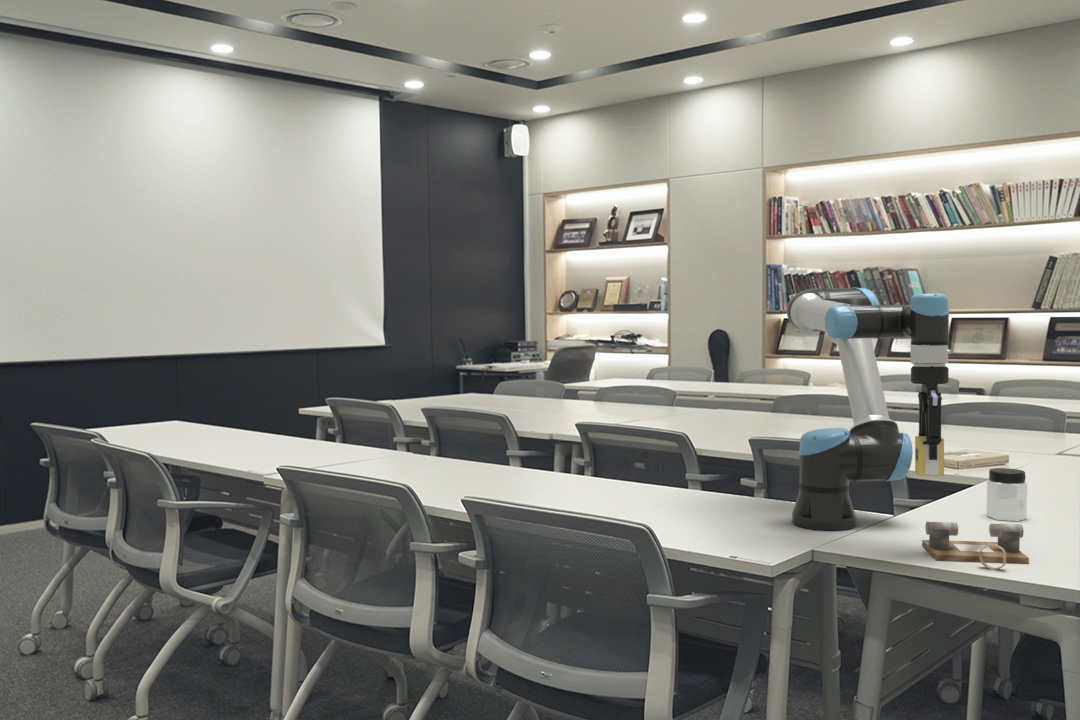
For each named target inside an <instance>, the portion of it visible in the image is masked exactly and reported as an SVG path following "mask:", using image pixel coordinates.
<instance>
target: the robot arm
mask: <svg viewBox="0 0 1080 720" xmlns="http://www.w3.org/2000/svg"><path fill="white" fill-rule="evenodd" d="M786 316H787V319H788V321H789V322H790V324H791V325H792V326H793V327H795V328H796V329H799V330H802V331H806V332H807V331H808V332H824V333H825V332H826V333H827V336H828V337H829V338H830V341H831V342H832V343H833V344H835V345H837V348H838V352H839V353H838V354H839V357H840V362H841V366H842V367H841V368H842V371H843V373H842V374H843V377H844V383H845V387H846V391H847V397H848V402H849V407H850V411H851V416H852V422H853V426H852V427H850V429H849V430H848V429H847V428H844V427H825V428H820V429H813V430H809V431H806V432H805V433H803V434H802V435H801V437H800V439H799V449H798V455H799V490H798V491H799V492H798V495H797V497H796V498H797V499H796V501H795V504H794V506H793V510H792V514H791V522H792V524H794V525H795V526H798V527H801V528H805V529H810V530H811V529H812V530H819V531H821V530H822V531H843V530H850V529H853V528H856V526H857V517H856V516H857V515H856V511H855V510H854V506H853V503H852V501H851V497H850V494H849V490H850V489H849V484H850V482H886V483H887V482H890V481H899V480H902V479H904V478H905V477H906V476H907V474H908V473H909V471H910V469H911V467H912V462H913V443H912V440H911V437H910V436H909V434H908V433H904V432H900V430H899V425H898V423H897V422H896V421H894V420H893V419H891V418H890V416H889V411H888V407H887V403H886V397H885V393H884V389H883V385H882V384H883V383H882V379H881V375H880V371H879V367H878V362H877V358H876V354H875V353H876V352H875V348H874V344H873V343H874V342H873V340H872V339H906V340H908V339H910V364H912V365H913V366H911V368H910V382H911V383H912V384H914V385H916V384H917V385H921V390H920V391H918V394H917V397H918V436H926V441H923V444H925V475H939V443H941V441H942V439H941V437H942V400H943V397H942V394H941V392H939V388H938V386H939V385H945V384H948V383H949V379H950V378H949V376H950V375H949V367H948V366H946V365H947V364H949V355H950V354H952V350H951V349H949V331H950V330H949V329H950V328H949V327H950V326H949V325H950V324H949V321H950V320H949V319H950V318H949V316H950V309H949V298H948V296H947V295H946V294H944V293H916V294H913V295H912V296H911V298H910V304H885V305H884V304H883V305H882V304H881V305H880V302H879V300H878V298H877V296H876V294H875V293H874V292H873V291H872V290H871V289H868V288H864V287H855V286H852V287H842V288H841V287H830V288H828V287H823V288H819V287H817V288H816V287H815V288H809V289H805V290H802V291H800V292H797V293H796V294H795V295H794V296H792V297H791V299H790V300H789V301H788V303H787V306H786Z"/></svg>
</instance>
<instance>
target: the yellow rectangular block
mask: <svg viewBox="0 0 1080 720" xmlns="http://www.w3.org/2000/svg"><path fill="white" fill-rule="evenodd" d="M914 437H915V438H914V446H915V447H914V450H915V451H914V453H915V454H914V460H915V461H914V466H915V467H914V468H915V469H914V472H915V474H916V475H917V476H919V477H945V439H944V438H943V437H942V436H941V439H942V441H941V443H939V475H925V444H923V441H926V436H919V435H915V436H914Z"/></svg>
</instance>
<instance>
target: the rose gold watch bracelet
mask: <svg viewBox="0 0 1080 720" xmlns="http://www.w3.org/2000/svg"><path fill="white" fill-rule="evenodd" d="M987 546H996V547H998V548H1000V549H1001V550H1002V551H1003V564H1002V565H1000V566H998V567H992V566H989V565H988V564H986V562H984V561H983V559H982V550H983V549H984V548H985V547H987ZM979 558H980V561H981V562H980V563H981V565H983V566H984V567H985V568H987V569H989V570H992V571H995V570H996V571H997V570H1000V569H1002V568H1003V567H1004V566H1005V565H1006V564H1007V563H1006V552H1005V550H1004V549H1003V548H1002V547H1001V546H998V545H995V544H988V545H986V546H984V547H983V548H982V549H981V551H980V554H979Z"/></svg>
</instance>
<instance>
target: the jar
mask: <svg viewBox="0 0 1080 720" xmlns="http://www.w3.org/2000/svg"><path fill="white" fill-rule="evenodd" d="M988 473H989V475H988V479H987V480H986V516H987V517H989V518H991V519H993V520H995V521H1004V522H1015V523H1017V522H1020V521H1024V520H1027V515H1028V514H1027V510H1028V509H1027V508H1028V507H1027V503H1028V499H1027V498H1028V482H1026V472H1025V470H1021V469H1017V468H1007V467H1006V468H1005V467H997V468H990V469H989V471H988Z"/></svg>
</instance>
